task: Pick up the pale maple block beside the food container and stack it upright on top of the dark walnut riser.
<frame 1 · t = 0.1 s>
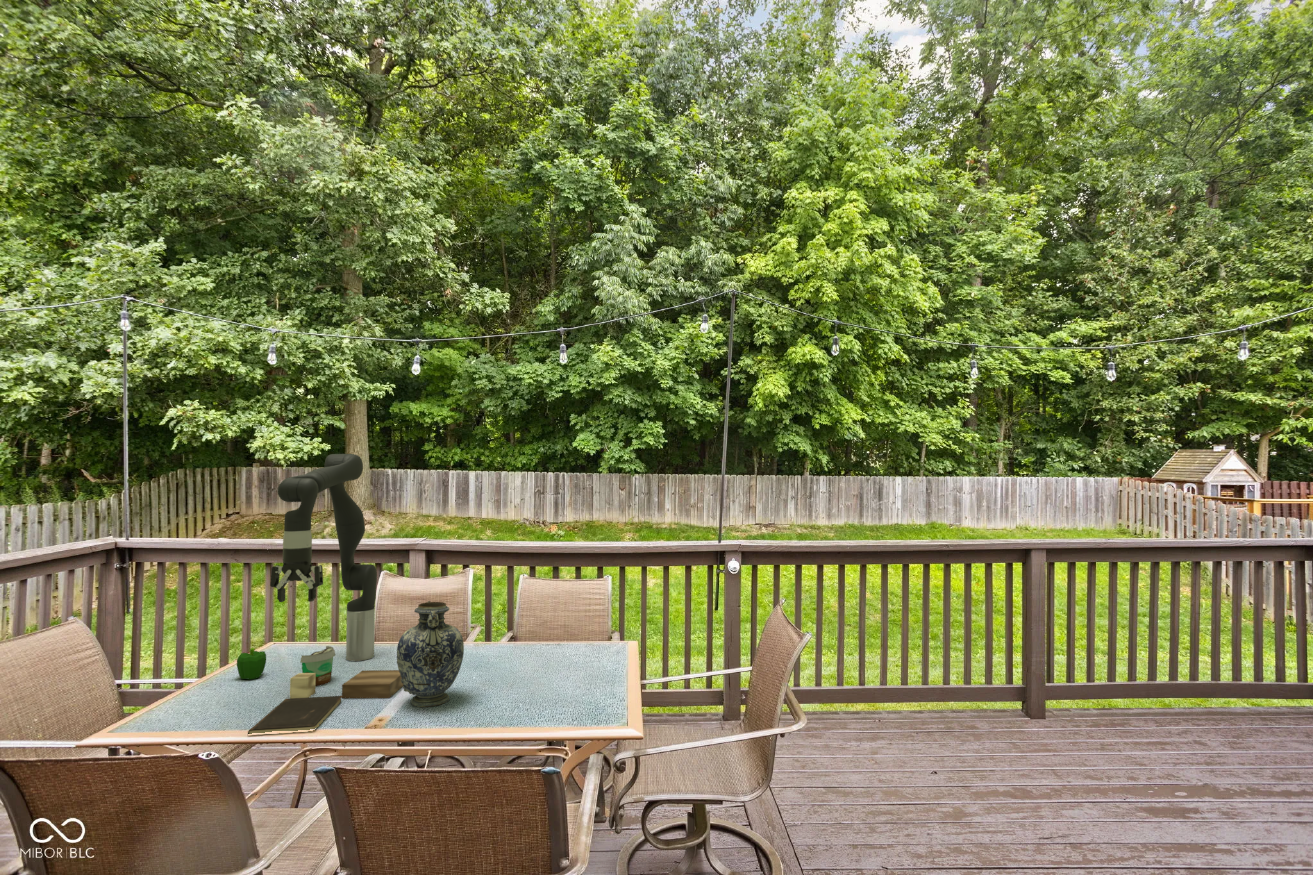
hand: (296, 601, 197), 29 cm above the table, tool pointing down, fingers open, 8 cm apart
maple block: (302, 695, 200), on the table
decorative vase: (430, 701, 195), on the table
bell pepper: (250, 678, 218), on the table
hardcover book: (298, 720, 182), on the table
food container: (322, 683, 212), on the table
walnut riser: (375, 690, 205), on the table
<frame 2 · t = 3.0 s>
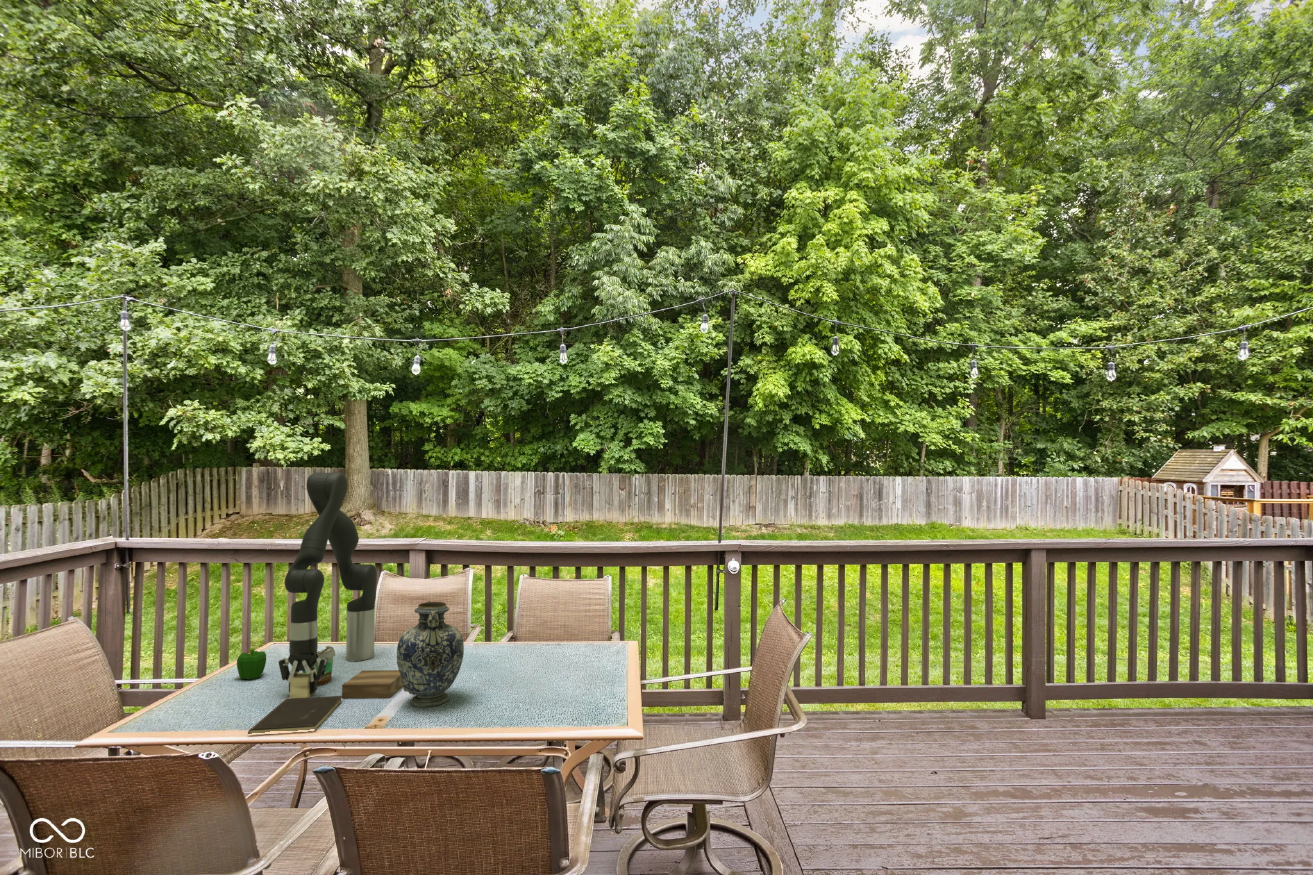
hand: (302, 693, 200), 1 cm above the table, tool pointing down, fingers closed on maple block, 5 cm apart
maple block: (302, 695, 200), on the table, touching gripper
everything else where it was.
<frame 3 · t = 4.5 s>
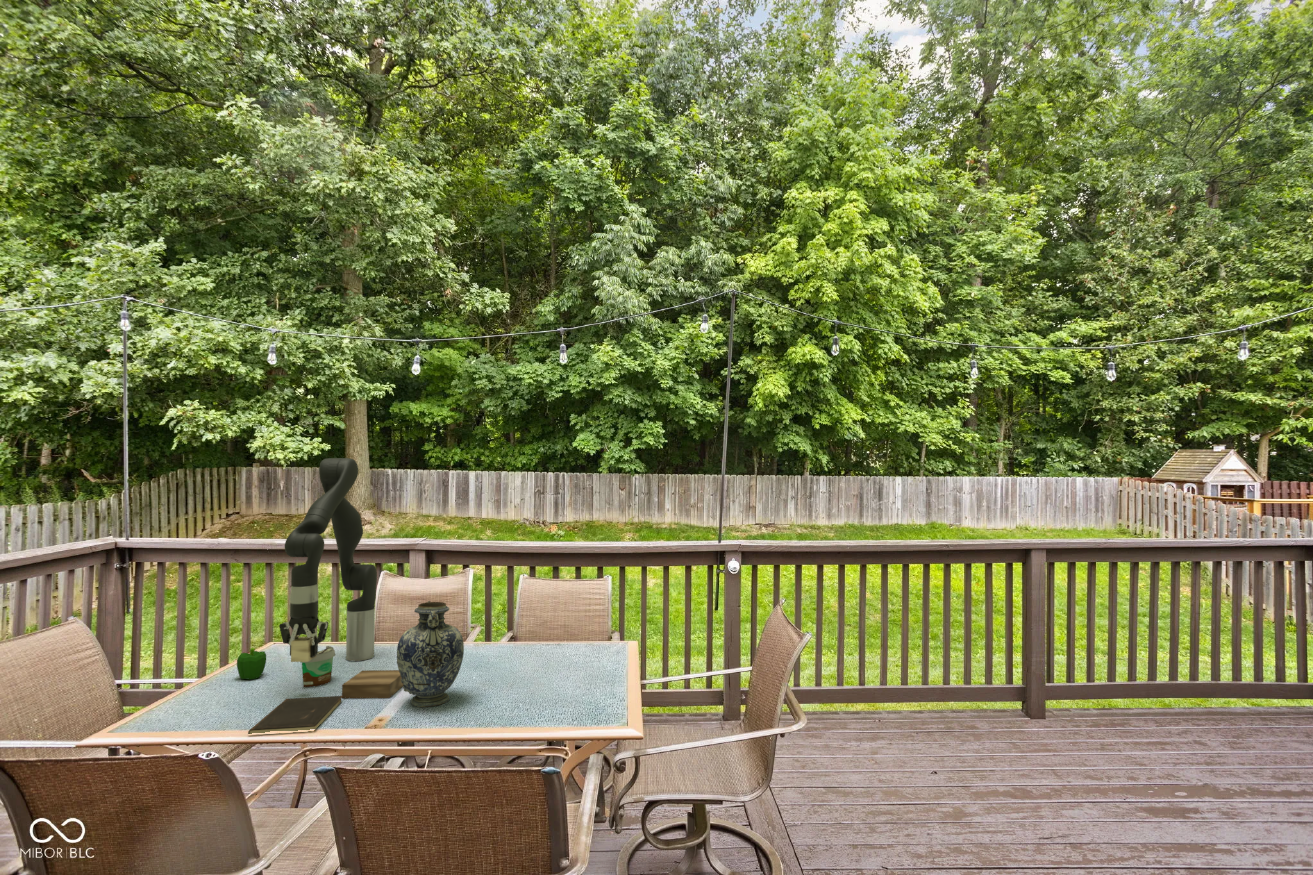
hand: (303, 656, 201), 11 cm above the table, tool pointing down, fingers closed on maple block, 5 cm apart
maple block: (303, 659, 201), point 11 cm above the table, touching gripper
everything else where it was.
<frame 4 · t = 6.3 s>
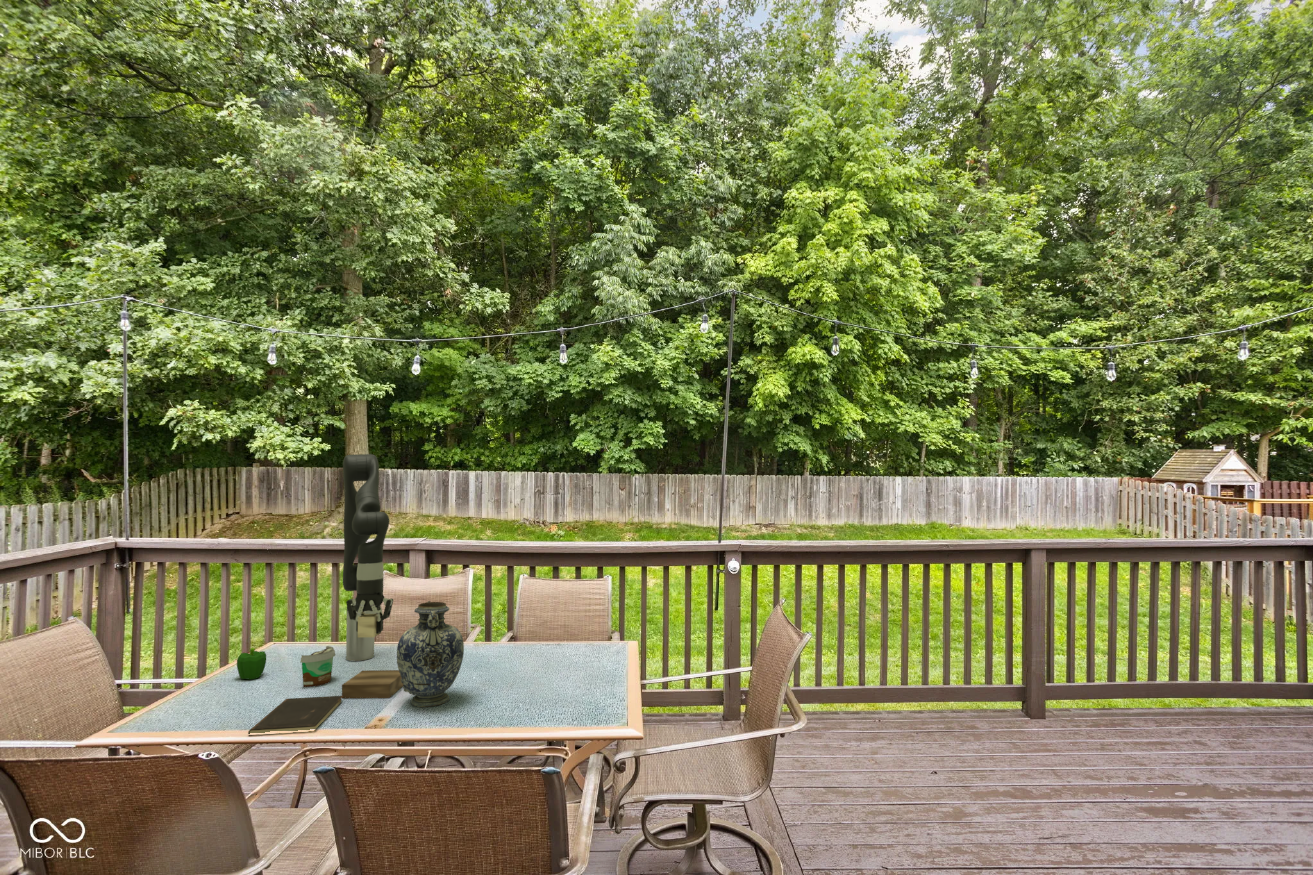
hand: (369, 632, 205), 18 cm above the table, tool pointing down, fingers closed on maple block, 5 cm apart
maple block: (369, 635, 205), point 17 cm above the table, touching gripper
everything else where it was.
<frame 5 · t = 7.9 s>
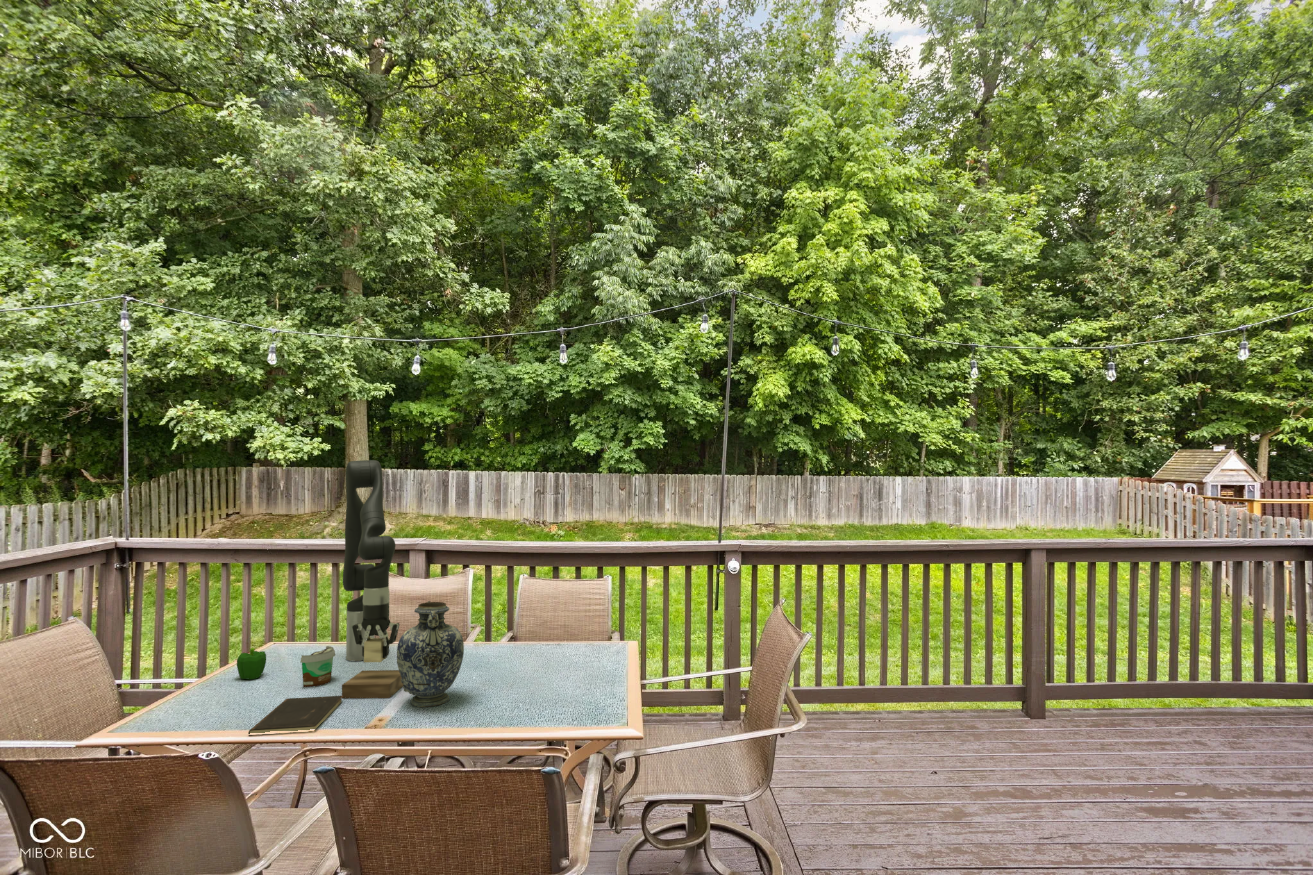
hand: (375, 657, 205), 10 cm above the table, tool pointing down, fingers closed on maple block, 5 cm apart
maple block: (375, 659, 205), point 9 cm above the table, touching gripper
everything else where it was.
when the fingers open (6 cm above the table, at t = 9.5 s): maple block drops 1 cm, resting on walnut riser.
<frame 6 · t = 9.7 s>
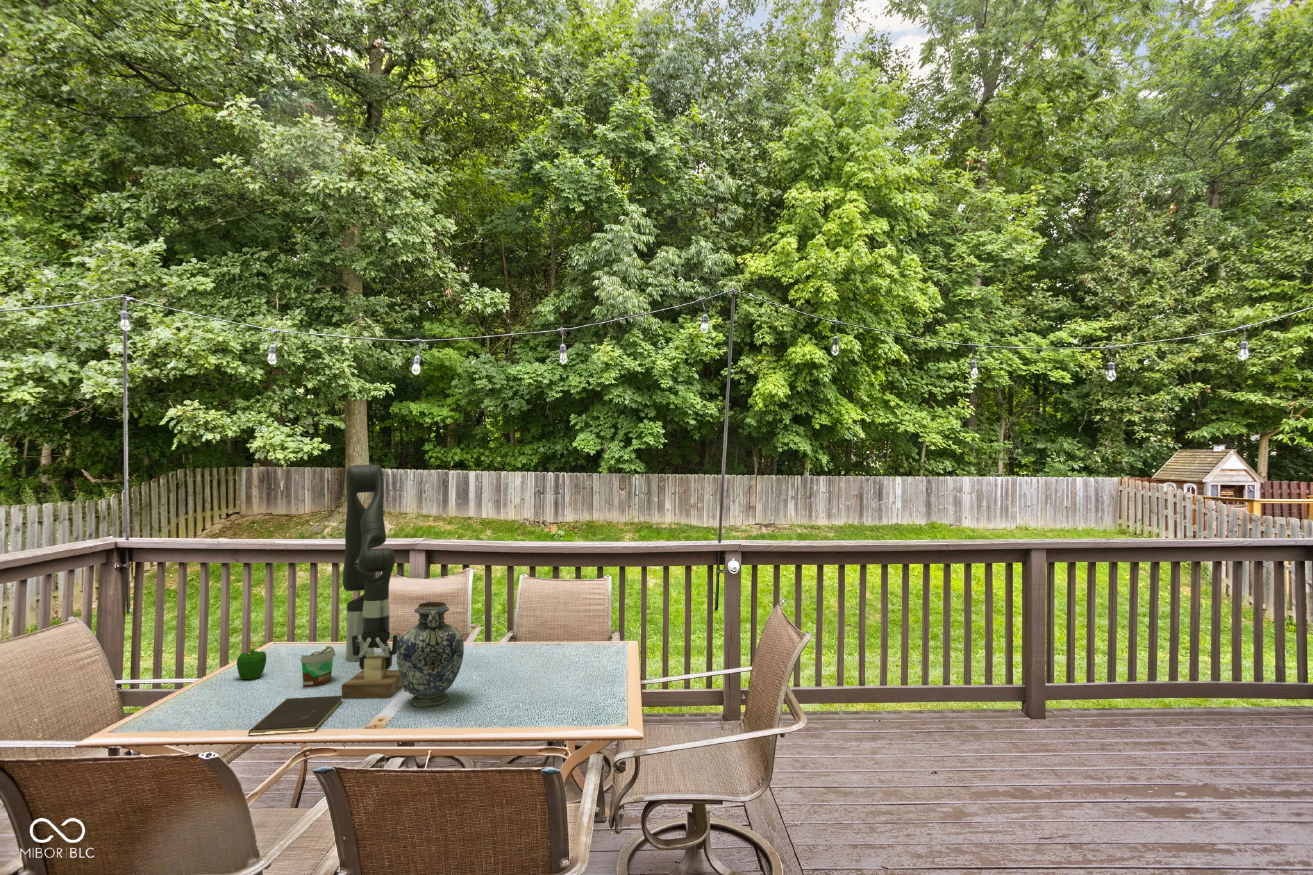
hand: (375, 668, 205), 7 cm above the table, tool pointing down, fingers open, 6 cm apart
maple block: (375, 677, 205), point 4 cm above the table, touching walnut riser
everything else where it was.
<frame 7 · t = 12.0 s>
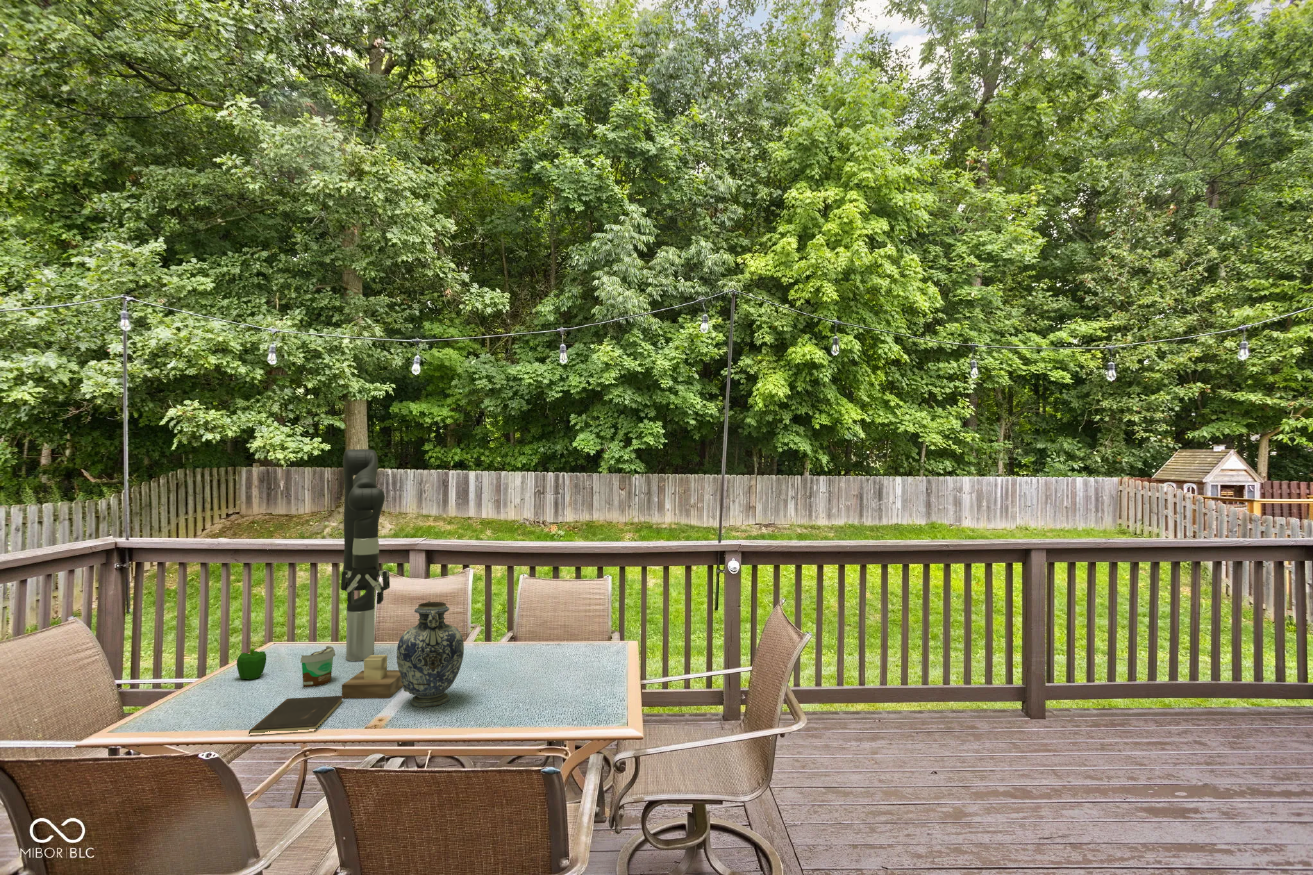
hand: (365, 603, 210), 25 cm above the table, tool pointing down, fingers open, 8 cm apart
nothing on the table moved.
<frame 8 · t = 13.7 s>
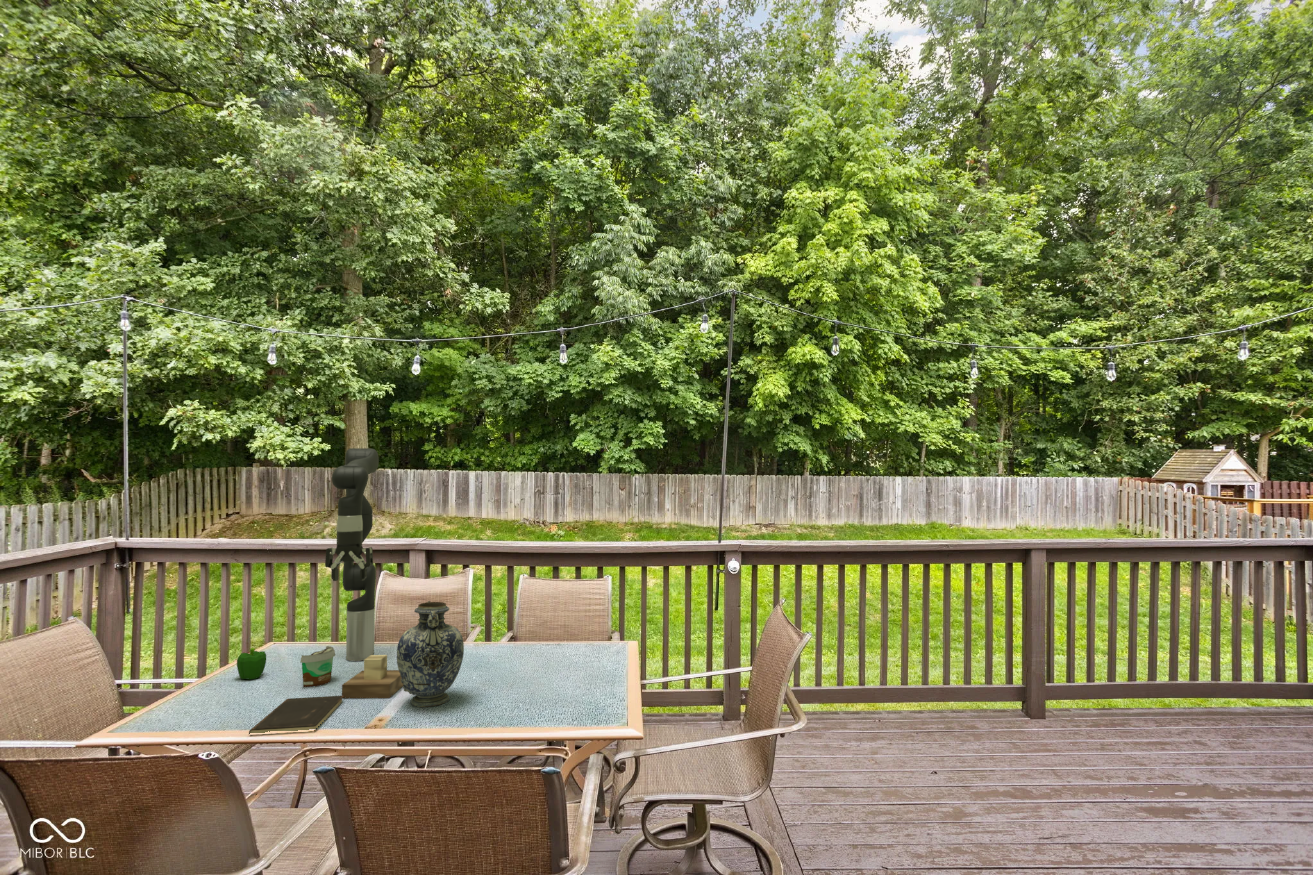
hand: (349, 580, 214), 32 cm above the table, tool pointing down, fingers open, 8 cm apart
nothing on the table moved.
at the end: maple block inside the target area on the walnut riser (0.0 cm from its centre), point 4.0 cm above the walnut riser's base; maple block tilted 0°; the gripper is holding nothing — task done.
